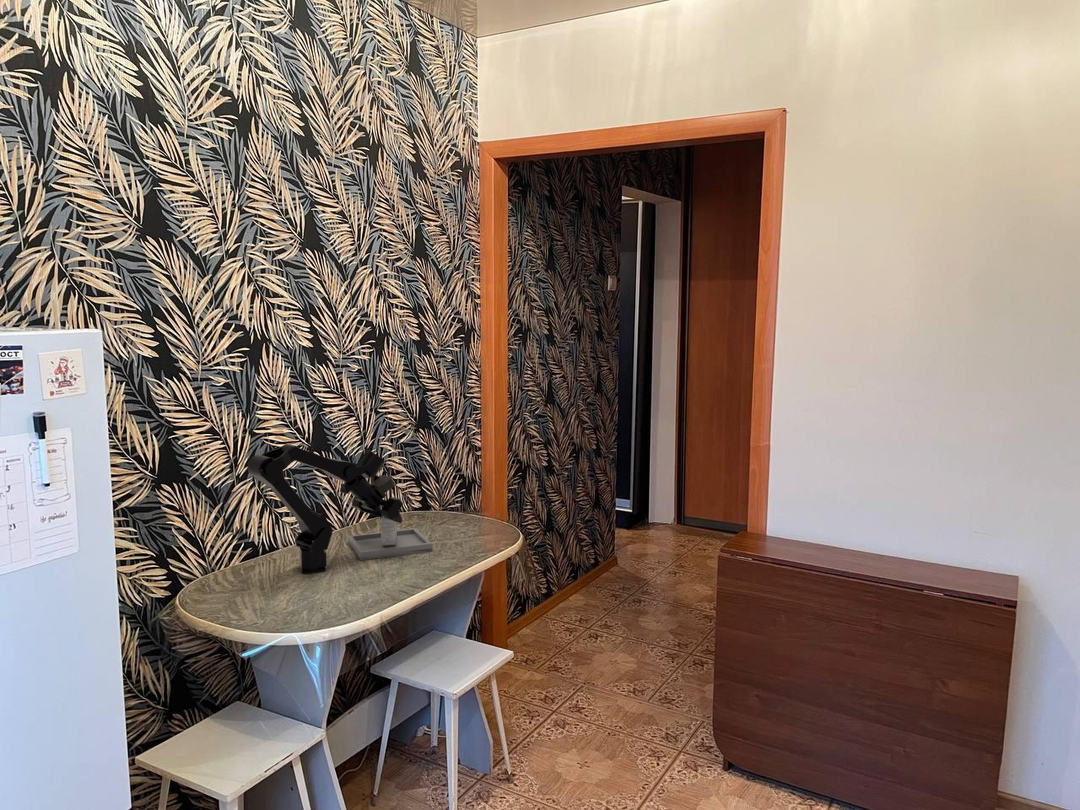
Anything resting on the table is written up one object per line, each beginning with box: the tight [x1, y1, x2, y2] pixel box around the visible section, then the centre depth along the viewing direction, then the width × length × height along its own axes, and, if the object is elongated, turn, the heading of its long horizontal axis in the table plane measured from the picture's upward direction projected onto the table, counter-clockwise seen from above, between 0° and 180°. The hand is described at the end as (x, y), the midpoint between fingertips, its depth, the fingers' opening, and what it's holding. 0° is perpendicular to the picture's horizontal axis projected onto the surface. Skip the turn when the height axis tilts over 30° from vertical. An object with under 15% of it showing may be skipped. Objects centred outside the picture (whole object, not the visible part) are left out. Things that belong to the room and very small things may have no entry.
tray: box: [347, 527, 433, 561], centre depth 234 cm, size 22×18×2 cm
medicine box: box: [380, 516, 398, 545], centre depth 233 cm, size 8×4×9 cm, turn 9°
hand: (392, 519), depth 234 cm, fingers closed on medicine box, 8 cm apart
